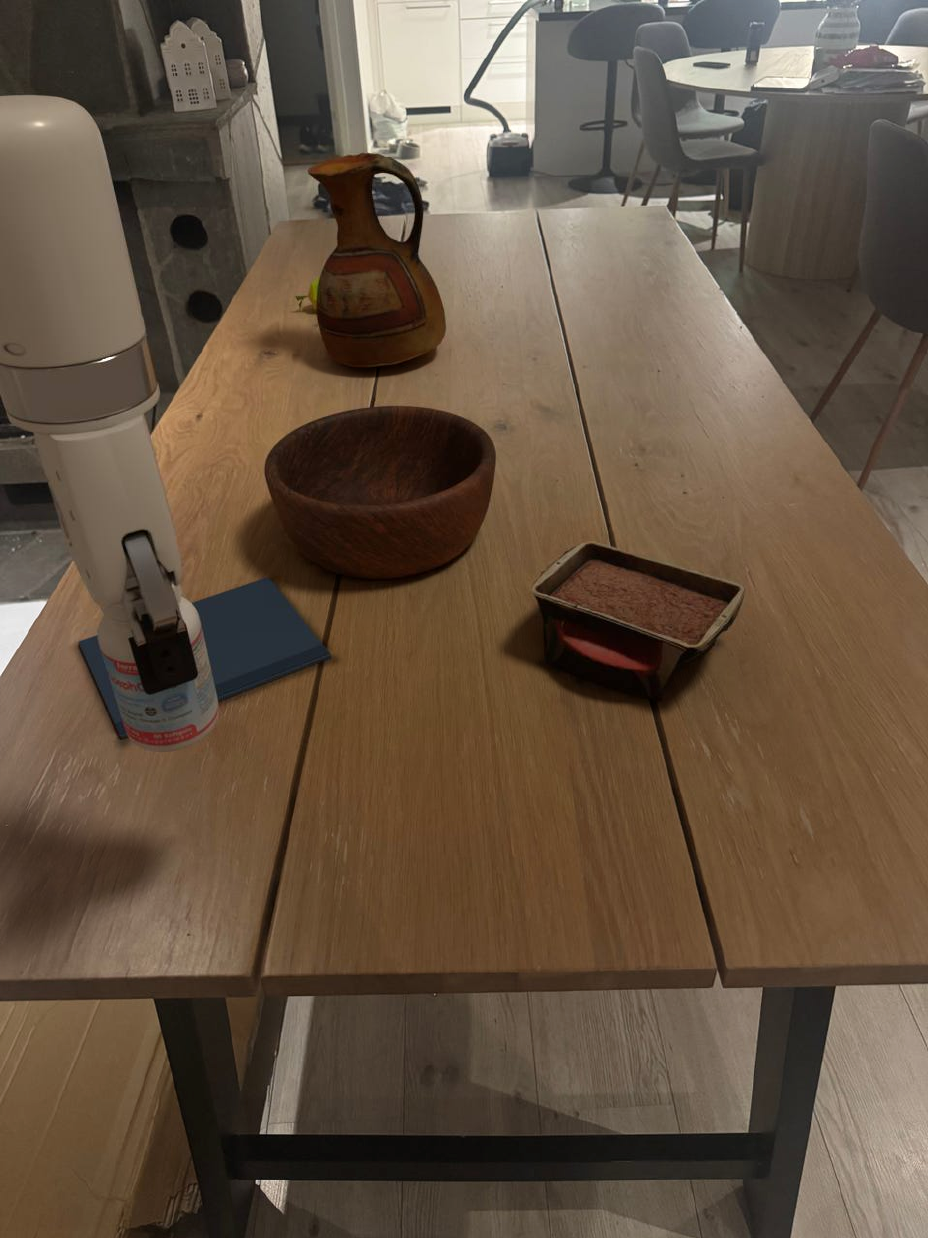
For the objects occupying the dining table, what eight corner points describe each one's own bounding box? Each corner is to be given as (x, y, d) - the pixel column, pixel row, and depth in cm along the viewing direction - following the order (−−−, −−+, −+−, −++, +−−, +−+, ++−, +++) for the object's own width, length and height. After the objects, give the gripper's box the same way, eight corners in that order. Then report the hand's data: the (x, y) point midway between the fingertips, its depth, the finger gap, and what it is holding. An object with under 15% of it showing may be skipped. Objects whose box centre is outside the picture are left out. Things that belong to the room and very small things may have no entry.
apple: (341, 266, 166) (291, 271, 164) (347, 298, 164) (297, 303, 163) (341, 289, 173) (293, 294, 171) (347, 319, 171) (298, 324, 170)
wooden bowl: (338, 470, 119) (328, 394, 113) (524, 496, 112) (524, 417, 105) (236, 574, 100) (217, 490, 94) (452, 614, 93) (446, 526, 87)
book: (121, 739, 80) (120, 735, 80) (79, 644, 91) (77, 640, 91) (331, 657, 88) (330, 653, 88) (268, 579, 99) (268, 575, 99)
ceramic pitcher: (324, 339, 157) (298, 144, 139) (442, 331, 158) (431, 136, 140) (321, 384, 142) (292, 171, 124) (452, 375, 143) (442, 162, 125)
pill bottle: (113, 754, 59) (64, 611, 52) (146, 691, 64) (106, 553, 57) (206, 758, 58) (169, 614, 52) (233, 694, 63) (202, 555, 57)
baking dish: (602, 602, 97) (590, 519, 92) (765, 643, 86) (762, 552, 81) (522, 682, 89) (503, 597, 83) (690, 739, 78) (681, 645, 72)
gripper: (-26, 341, 51) (64, 605, 62) (32, 460, 39) (131, 761, 50) (111, 316, 54) (174, 571, 65) (203, 419, 42) (262, 712, 53)
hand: (155, 652), depth 58 cm, fingers closed on pill bottle, 6 cm apart
